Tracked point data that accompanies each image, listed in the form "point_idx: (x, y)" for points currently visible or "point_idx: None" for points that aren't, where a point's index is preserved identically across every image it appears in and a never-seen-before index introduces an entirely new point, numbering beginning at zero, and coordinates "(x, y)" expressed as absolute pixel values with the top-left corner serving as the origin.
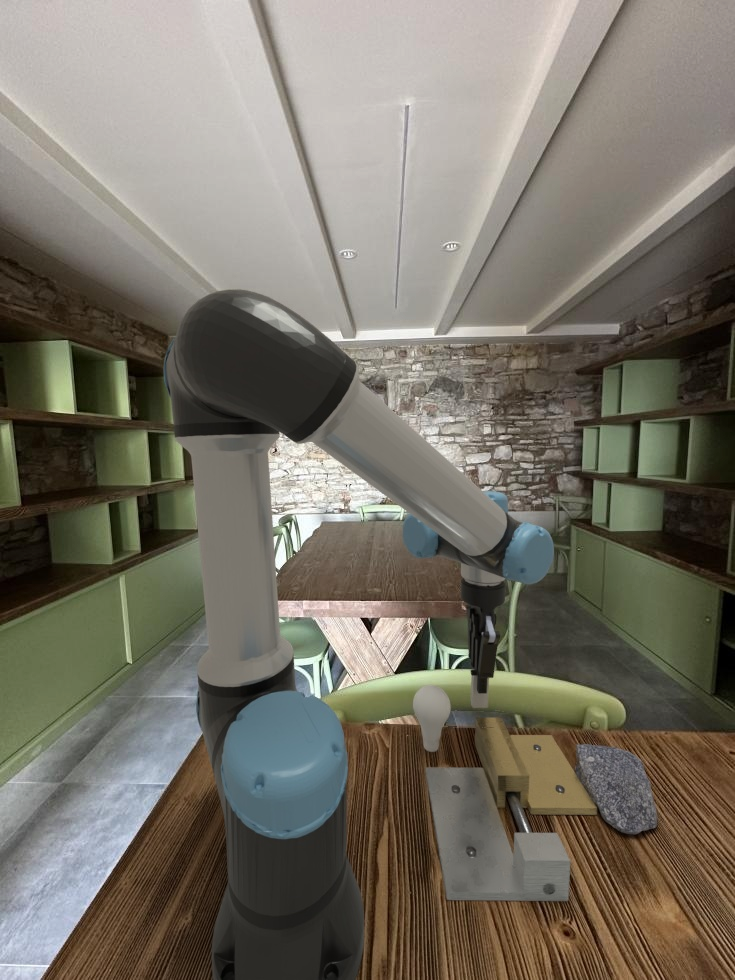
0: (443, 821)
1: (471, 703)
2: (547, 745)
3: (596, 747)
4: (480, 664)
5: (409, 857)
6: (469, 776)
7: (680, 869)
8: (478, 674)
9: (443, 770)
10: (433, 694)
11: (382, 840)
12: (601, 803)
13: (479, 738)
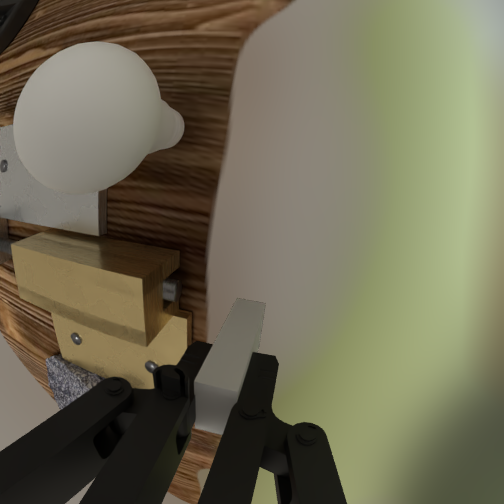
0: None
1: (255, 303)
2: None
3: None
4: (52, 419)
5: (20, 88)
6: (81, 199)
7: (42, 371)
8: (106, 385)
9: None
10: (15, 119)
11: (39, 51)
12: (62, 366)
13: (120, 259)
